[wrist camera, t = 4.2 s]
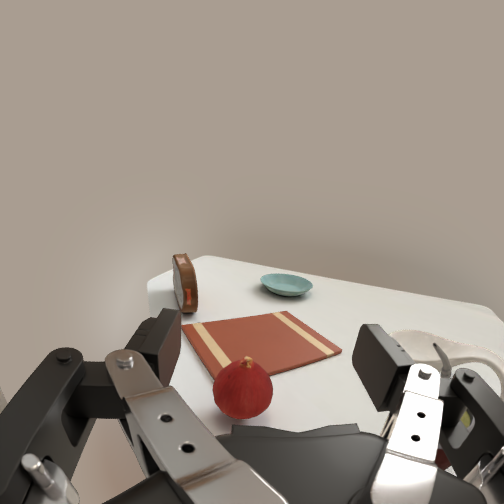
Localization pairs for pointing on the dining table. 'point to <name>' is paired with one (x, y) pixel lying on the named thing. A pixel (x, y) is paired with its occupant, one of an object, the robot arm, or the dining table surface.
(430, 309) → the dining table surface
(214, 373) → the towel
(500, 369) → the spoon rest
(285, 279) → the saucer
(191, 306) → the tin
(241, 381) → the red pomegranate
